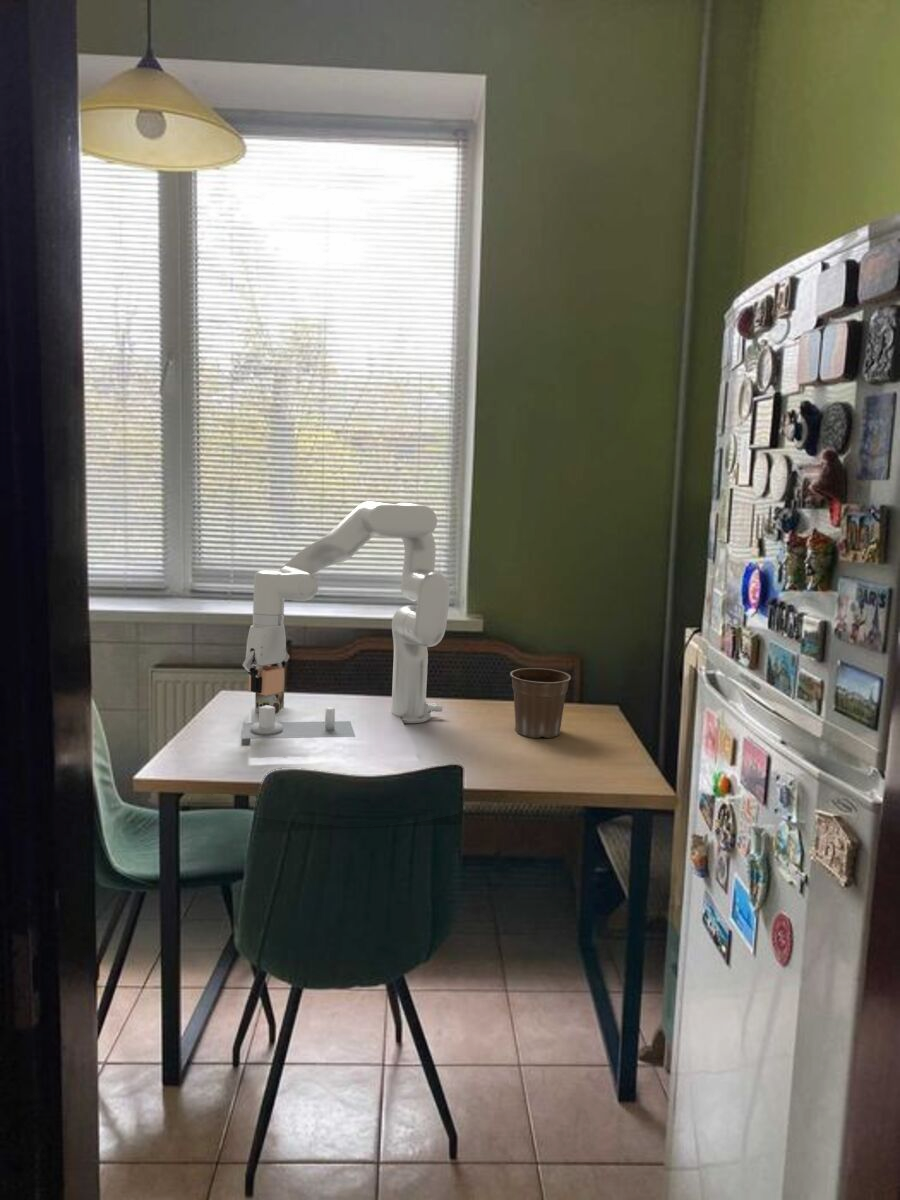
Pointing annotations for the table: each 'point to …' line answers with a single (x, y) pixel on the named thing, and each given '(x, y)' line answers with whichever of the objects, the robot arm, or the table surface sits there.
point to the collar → (270, 680)
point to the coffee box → (270, 700)
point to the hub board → (295, 727)
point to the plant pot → (539, 701)
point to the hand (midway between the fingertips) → (265, 689)
